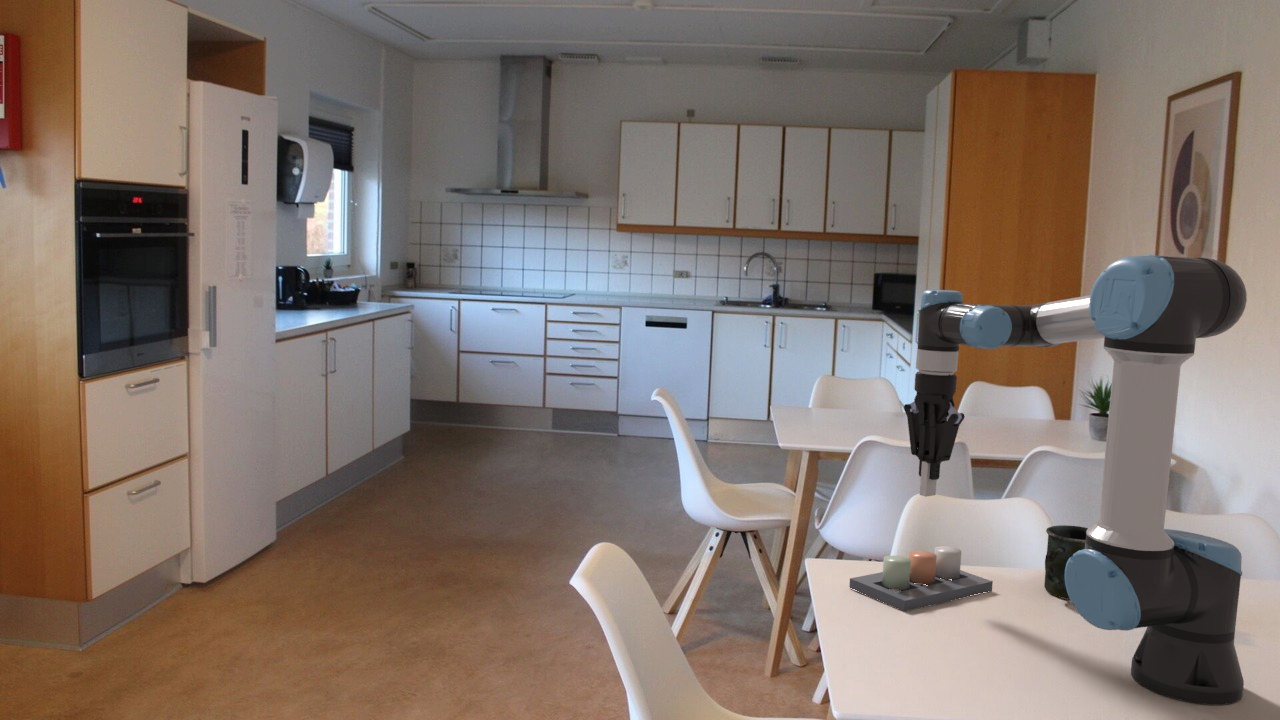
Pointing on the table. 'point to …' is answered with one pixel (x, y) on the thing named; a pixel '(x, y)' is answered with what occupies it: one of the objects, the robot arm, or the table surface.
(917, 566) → the terracotta button
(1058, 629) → the table surface
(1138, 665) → the robot arm
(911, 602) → the button board
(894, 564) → the sage button
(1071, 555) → the mug
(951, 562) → the grey button
